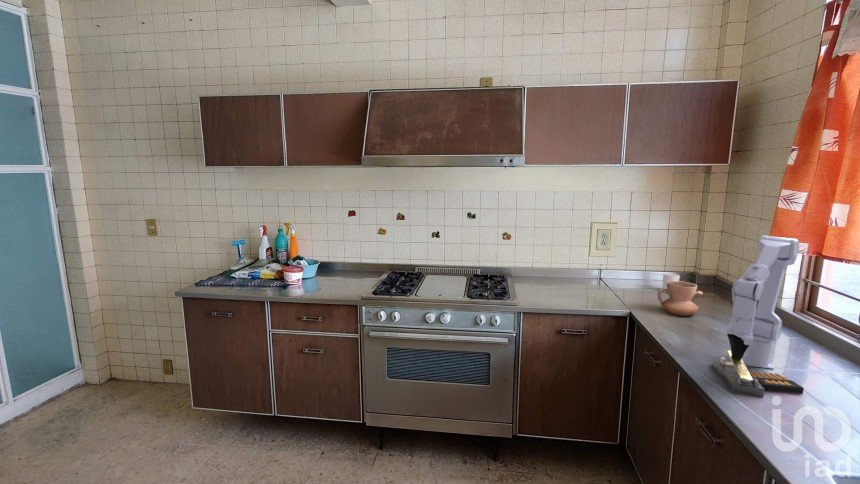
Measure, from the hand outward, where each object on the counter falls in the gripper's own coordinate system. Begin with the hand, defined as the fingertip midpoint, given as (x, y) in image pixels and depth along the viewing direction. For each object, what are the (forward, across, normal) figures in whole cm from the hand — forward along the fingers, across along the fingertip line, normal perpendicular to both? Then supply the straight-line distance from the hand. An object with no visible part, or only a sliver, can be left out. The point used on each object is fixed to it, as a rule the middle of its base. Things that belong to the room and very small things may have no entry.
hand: (736, 358), depth 135 cm
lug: (+4, -4, 0) cm, 5 cm away
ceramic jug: (+6, -65, -3) cm, 65 cm away
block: (+6, +2, 0) cm, 7 cm away
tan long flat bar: (+2, +3, 0) cm, 4 cm away
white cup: (+6, -103, +1) cm, 103 cm away
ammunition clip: (+5, +6, +11) cm, 14 cm away
